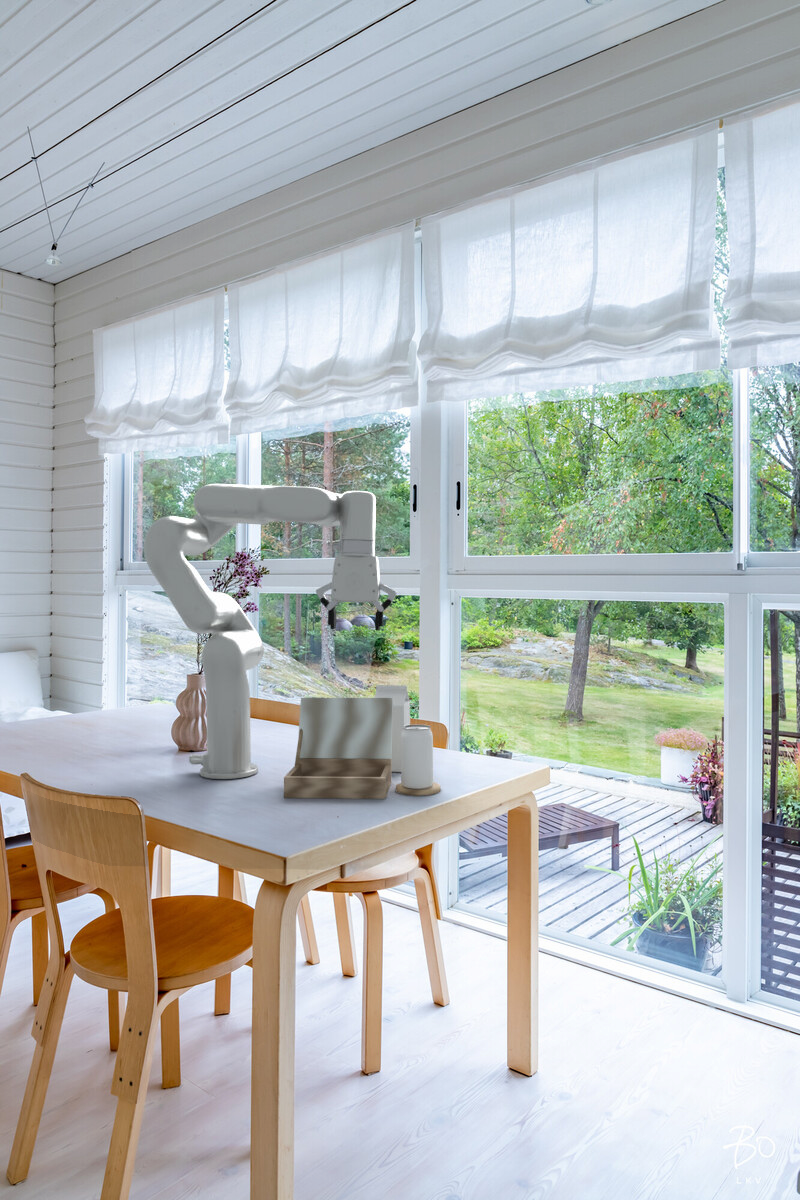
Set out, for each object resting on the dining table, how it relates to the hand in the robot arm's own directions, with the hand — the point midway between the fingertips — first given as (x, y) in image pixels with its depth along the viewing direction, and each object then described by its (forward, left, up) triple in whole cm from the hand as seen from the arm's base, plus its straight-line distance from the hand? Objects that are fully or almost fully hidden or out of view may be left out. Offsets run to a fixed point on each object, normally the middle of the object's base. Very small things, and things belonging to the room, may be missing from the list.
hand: (355, 629), depth 171 cm
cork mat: (+14, -9, -32) cm, 36 cm away
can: (+13, -9, -32) cm, 35 cm away
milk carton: (+7, +10, -32) cm, 35 cm away
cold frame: (-2, -7, -32) cm, 33 cm away
